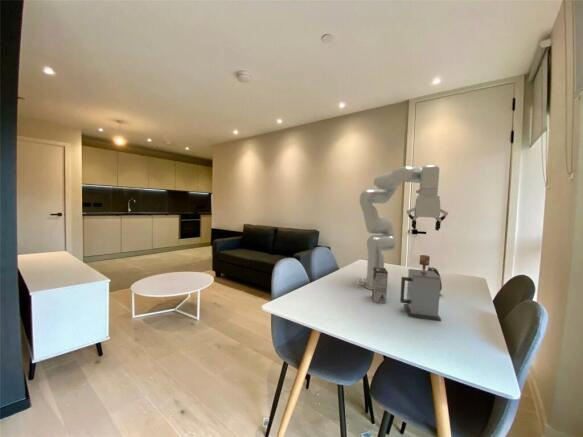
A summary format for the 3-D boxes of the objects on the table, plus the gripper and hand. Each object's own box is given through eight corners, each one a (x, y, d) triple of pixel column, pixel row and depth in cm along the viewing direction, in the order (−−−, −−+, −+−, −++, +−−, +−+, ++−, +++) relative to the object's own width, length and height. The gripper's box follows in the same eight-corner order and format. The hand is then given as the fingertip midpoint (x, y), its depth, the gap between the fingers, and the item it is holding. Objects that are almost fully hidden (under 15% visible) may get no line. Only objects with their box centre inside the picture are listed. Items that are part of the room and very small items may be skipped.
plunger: (413, 301, 115) (416, 257, 113) (409, 294, 123) (412, 253, 122) (435, 303, 112) (438, 258, 111) (430, 296, 121) (432, 254, 120)
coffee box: (371, 295, 139) (373, 266, 138) (383, 297, 137) (385, 267, 136) (373, 302, 130) (375, 271, 129) (386, 303, 128) (388, 272, 127)
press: (402, 315, 114) (404, 274, 113) (397, 304, 127) (400, 267, 126) (440, 321, 110) (444, 278, 109) (432, 309, 123) (435, 270, 122)
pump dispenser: (436, 291, 150) (437, 265, 149) (444, 297, 140) (446, 270, 139) (418, 289, 151) (419, 264, 150) (425, 296, 141) (427, 269, 140)
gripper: (409, 192, 115) (406, 229, 117) (452, 193, 111) (448, 231, 112) (406, 192, 123) (404, 227, 124) (446, 193, 118) (443, 230, 119)
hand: (425, 229), depth 118 cm, fingers open, 9 cm apart
